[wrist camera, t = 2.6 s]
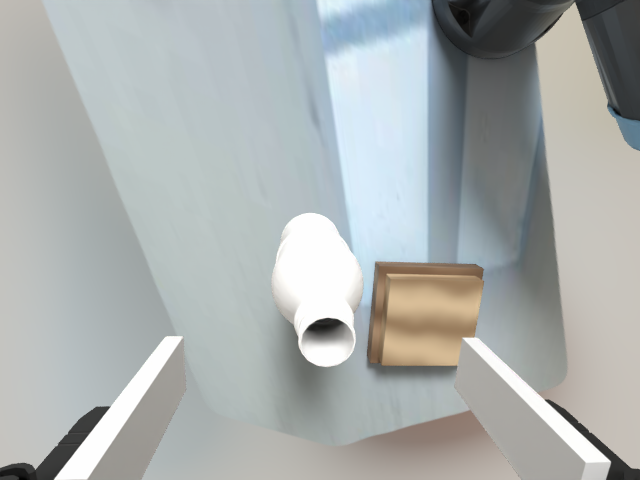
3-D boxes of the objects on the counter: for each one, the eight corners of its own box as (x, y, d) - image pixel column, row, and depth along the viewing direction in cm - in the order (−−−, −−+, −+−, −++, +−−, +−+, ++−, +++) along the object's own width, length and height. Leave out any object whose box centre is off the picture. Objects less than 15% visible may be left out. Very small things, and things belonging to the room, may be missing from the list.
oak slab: (386, 273, 40) (390, 279, 38) (475, 275, 41) (484, 281, 39) (377, 356, 43) (381, 365, 41) (461, 356, 44) (469, 365, 42)
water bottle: (324, 201, 40) (367, 254, 15) (345, 251, 41) (413, 370, 17) (272, 223, 40) (233, 310, 15) (295, 272, 41) (292, 420, 17)
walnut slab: (375, 261, 42) (379, 266, 40) (475, 264, 43) (483, 268, 41) (367, 354, 45) (370, 362, 43) (460, 354, 46) (467, 363, 44)
